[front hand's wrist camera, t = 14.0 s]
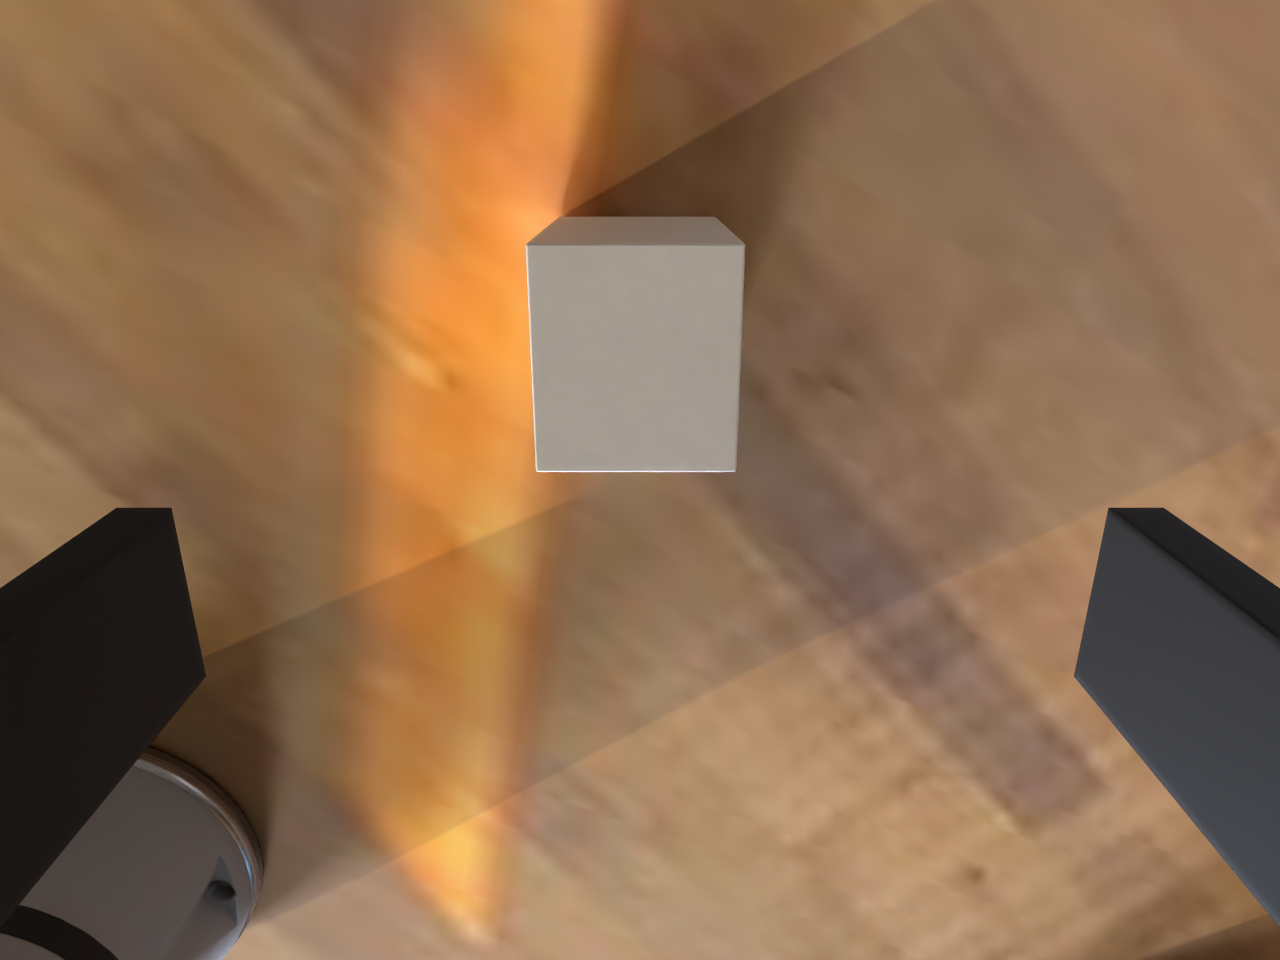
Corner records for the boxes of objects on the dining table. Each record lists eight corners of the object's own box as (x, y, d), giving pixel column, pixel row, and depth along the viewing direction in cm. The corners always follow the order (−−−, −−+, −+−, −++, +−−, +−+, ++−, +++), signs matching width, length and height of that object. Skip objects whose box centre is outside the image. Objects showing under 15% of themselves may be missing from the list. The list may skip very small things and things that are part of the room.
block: (711, 386, 38) (736, 472, 28) (564, 386, 38) (535, 472, 28) (715, 216, 35) (745, 243, 25) (558, 216, 35) (525, 243, 25)
